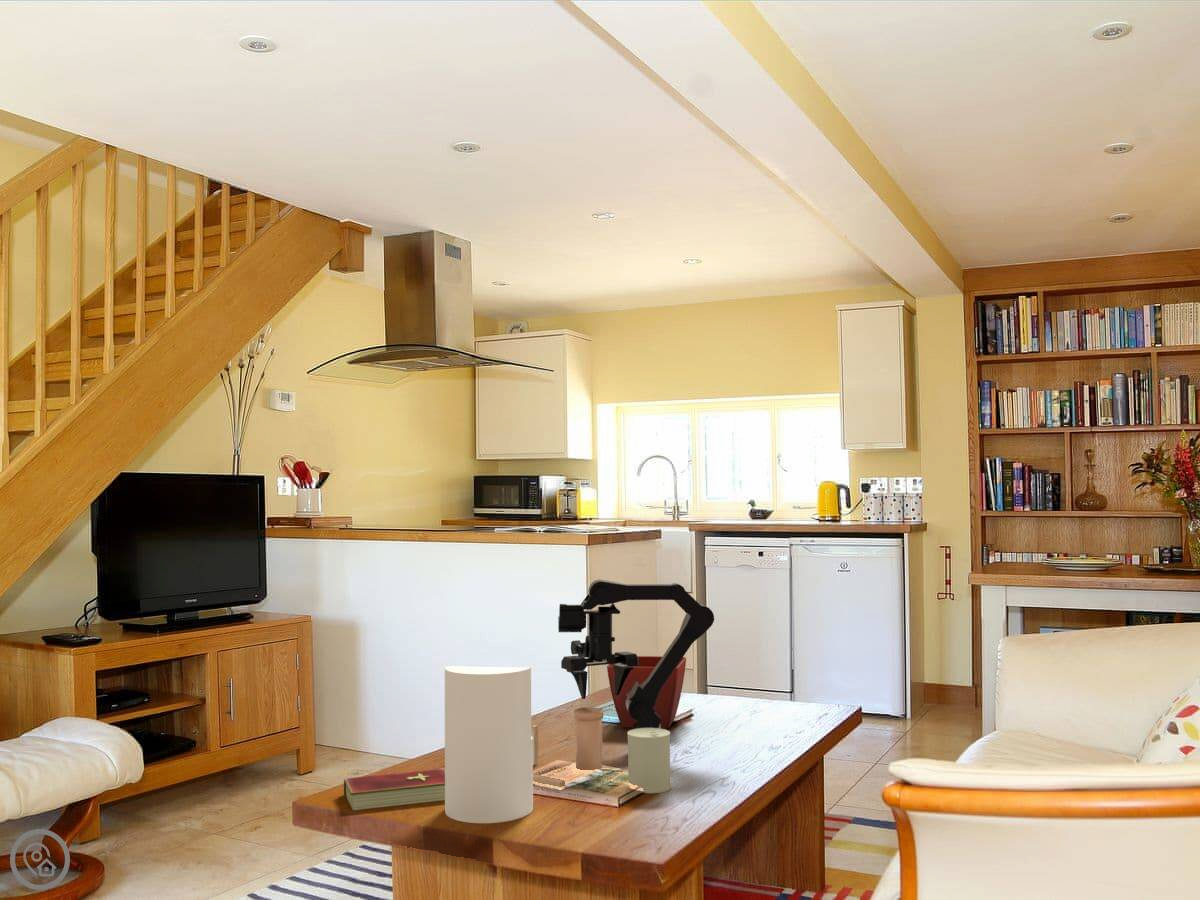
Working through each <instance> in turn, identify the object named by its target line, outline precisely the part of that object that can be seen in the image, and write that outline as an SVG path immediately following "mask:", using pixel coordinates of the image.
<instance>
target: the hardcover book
mask: <svg viewBox="0 0 1200 900" xmlns="http://www.w3.org/2000/svg"><path fill="white" fill-rule="evenodd" d="M343 796H346V798H347V801H348V803H349V804H350V807H351V809H352V810H351V811H359V810H360V811H361V810H368V809H377V808H378V809H379V808H386V807H394V806H395V807H396V806H403V805H413V804H421V803H422V804H423V803H430V802H438V801H439V802H440V801H445V768H435V769H425V770H416V771H415V770H414V771H405V772H396V773H385V774H377V775H376V774H375V775H374V774H373V775H365V776H364V775H363V776H355V777H346V778H344V779H343Z"/></svg>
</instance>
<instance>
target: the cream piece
mask: <svg viewBox="0 0 1200 900" xmlns="http://www.w3.org/2000/svg"><path fill="white" fill-rule="evenodd" d="M531 736H532V737H533V766H537V765H539V726H538V725H535V724H534V725H531ZM571 764H576V761H574V762H573V763H571ZM602 768H609V769H615V770H618V771H621V768H620V767H619V768H618V767H614V766H609V765H604V764H602ZM533 781H535V782H538V783H542V784H549V785H553V786H558V787H562V786H565V781H564V780H560V779H555V778H550V777H545V776H541V775H539V774H537V773H536V774H534V773H533Z"/></svg>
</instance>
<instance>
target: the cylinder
mask: <svg viewBox="0 0 1200 900" xmlns="http://www.w3.org/2000/svg"><path fill="white" fill-rule="evenodd" d="M531 731H532V667H520V666H519V667H518V666H517V667H515V666H514V667H513V666H512V667H511V666H507V667H506V666H470V665H469V666H468V665H467V666H459V665H455V666H454V665H447V666H445V667H444V769H445V800H444V813H445V815H446V816H447V817H448V818H449V819H452V820H455V821H457V822H464V823H468V824H469V823H471V824H493V823H494V824H498V823H504V822H511V821H515V820H518V819H521V818H524V817H526V816H528V815H529V814H530V813H532V811H533V809H534V785H533V774H534V771H533V770H534V765H533V737H532V736H531Z"/></svg>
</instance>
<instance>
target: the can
mask: <svg viewBox="0 0 1200 900" xmlns="http://www.w3.org/2000/svg"><path fill="white" fill-rule="evenodd" d="M626 733H627V764H628V765H627V768H628V769H627V773H628V776H627V777H628V778H627V782H629V783H631V784H633V785H637V786H640V787H641V788H643V790H644V792H643V794H660V793H666V792H667V791H669V790H672V783H671V782H672V781H671V731H670V730H667V729H660V728H638V729H633V728H632V729H630V730H628V731H627V732H626Z"/></svg>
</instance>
